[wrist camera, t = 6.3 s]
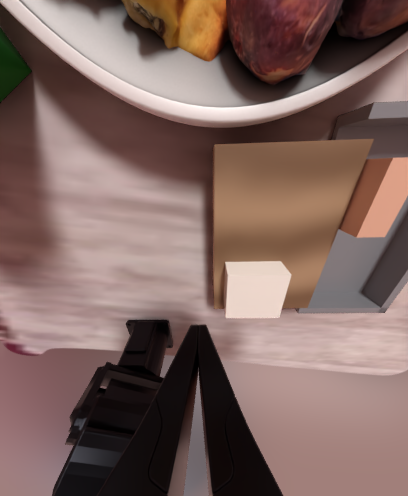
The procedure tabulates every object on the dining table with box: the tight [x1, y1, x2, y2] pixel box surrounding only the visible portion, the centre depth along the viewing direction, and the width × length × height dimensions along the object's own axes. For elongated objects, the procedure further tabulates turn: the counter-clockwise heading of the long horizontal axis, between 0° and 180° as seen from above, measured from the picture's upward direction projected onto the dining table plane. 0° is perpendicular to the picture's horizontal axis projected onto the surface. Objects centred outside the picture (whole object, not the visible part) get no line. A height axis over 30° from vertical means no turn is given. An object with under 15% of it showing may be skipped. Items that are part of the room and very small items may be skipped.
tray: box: [295, 101, 408, 313], centre depth 15 cm, size 19×10×3 cm, turn 2°
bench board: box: [213, 139, 374, 309], centre depth 15 cm, size 15×10×4 cm, turn 2°
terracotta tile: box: [339, 157, 408, 238], centre depth 12 cm, size 5×5×2 cm
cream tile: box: [224, 261, 291, 318], centre depth 14 cm, size 5×5×2 cm
